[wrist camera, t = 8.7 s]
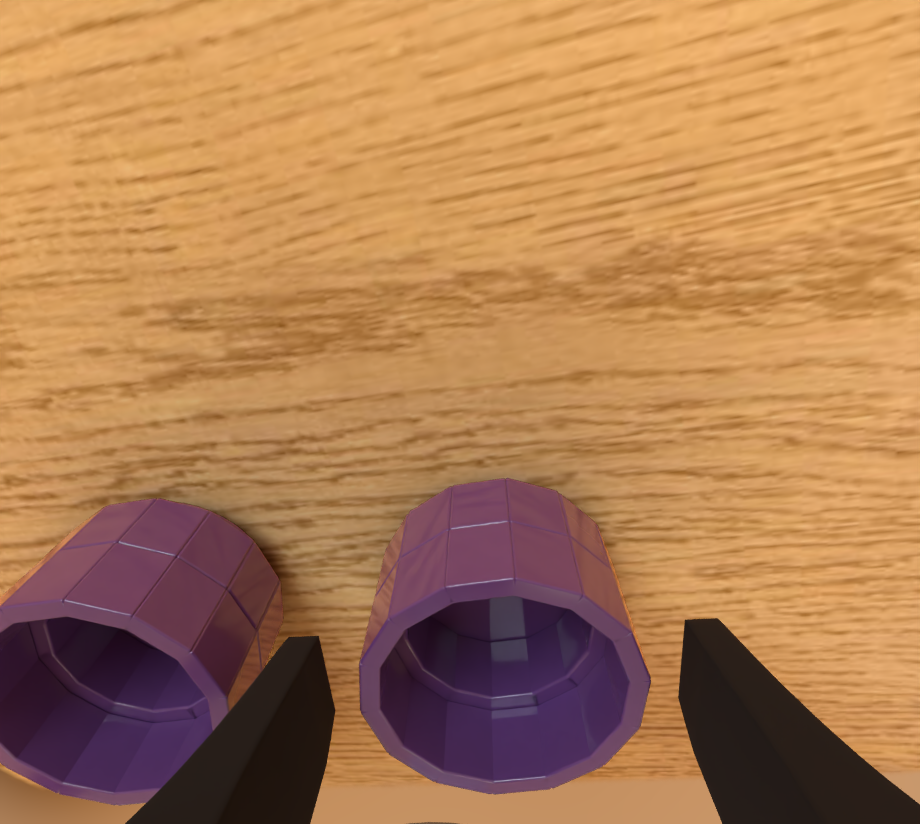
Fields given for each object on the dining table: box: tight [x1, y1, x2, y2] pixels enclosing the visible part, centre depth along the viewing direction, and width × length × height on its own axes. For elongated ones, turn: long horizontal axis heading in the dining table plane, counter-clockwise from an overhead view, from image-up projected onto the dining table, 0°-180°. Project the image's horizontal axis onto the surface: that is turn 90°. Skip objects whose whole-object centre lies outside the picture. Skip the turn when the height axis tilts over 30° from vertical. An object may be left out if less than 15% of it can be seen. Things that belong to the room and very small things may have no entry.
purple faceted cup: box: [0, 498, 284, 805], centre depth 14 cm, size 5×6×4 cm
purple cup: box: [359, 478, 651, 794], centre depth 13 cm, size 5×6×4 cm
